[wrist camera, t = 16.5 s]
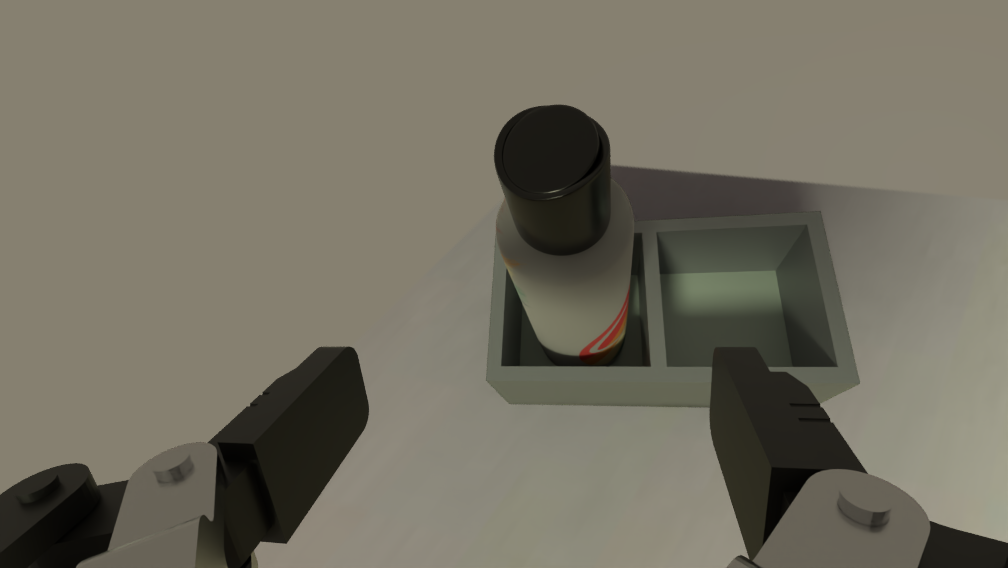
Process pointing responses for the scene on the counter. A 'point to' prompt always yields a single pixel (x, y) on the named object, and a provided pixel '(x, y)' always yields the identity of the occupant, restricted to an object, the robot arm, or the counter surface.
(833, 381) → the box
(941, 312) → the counter surface
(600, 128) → the lotion bottle
